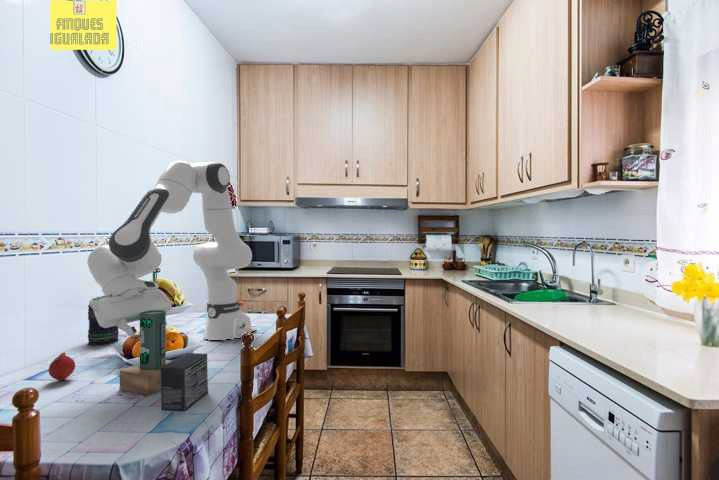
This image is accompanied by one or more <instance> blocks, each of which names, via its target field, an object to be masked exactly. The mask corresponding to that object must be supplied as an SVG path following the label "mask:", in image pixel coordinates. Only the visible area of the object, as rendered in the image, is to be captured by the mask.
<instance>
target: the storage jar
mask: <svg viewBox="0 0 719 480" xmlns="http://www.w3.org/2000/svg"><path fill="white" fill-rule="evenodd" d="M87 306H88V309H87V310H88V311H87V316H88V317H87V318H88V331H87V333H88V334H87V338H88V339H87V340H88V342H87V345H88V346H90V347H91V346H92V347H97V346H98V347H99V346H101V347H102V346H106V345H112V344H115V343H117V342H119V333H120V332H119V331H120V330H119V328H118V327H117V326H112V327H108V328H104V327H101V326H100V325H99V323H98V321H97V319H96V317H95V314H94V310H93V309H92V308H91V306H90V304H88V305H87ZM116 341H117V342H116ZM114 342H115V343H114ZM111 343H112V344H111Z"/></svg>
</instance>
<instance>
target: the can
mask: <svg viewBox="0 0 719 480" xmlns="http://www.w3.org/2000/svg"><path fill="white" fill-rule="evenodd" d="M166 315H167V314H166V311H164V310H150V311H145V312H141V313H140V320H139V364H140V369H141V370H154V369H159V368H161V367H162V366H164V365H165V364H166V360H167V359H166V358H167V354H166V353H167V350H166V349H167V347H166V346H167V339H166V336H167V335H166V334H167V331H166V330H167V329H166V328H167V325H166V322H167V319H166V318H167V316H166Z"/></svg>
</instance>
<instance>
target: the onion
mask: <svg viewBox="0 0 719 480" xmlns="http://www.w3.org/2000/svg"><path fill="white" fill-rule="evenodd" d="M53 359H54V360H52V361H51V363H50V364H49V367H48V375H50V377H51V378H52V379H54V380H57V381H60V382H63V381H65V380H66V379H68V377H70V376H71V375H72V374H73V373H74V371H75V369H76V362H75V361H74V359H73V358H72V357H71V356H68V355H66V352H64V351H63V352H61V353H60V354H59V355H58V356H57V357H55V358H53Z"/></svg>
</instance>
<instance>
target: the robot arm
mask: <svg viewBox="0 0 719 480" xmlns="http://www.w3.org/2000/svg"><path fill="white" fill-rule="evenodd" d="M230 177H231V175H230V171H229V170H228V168H227V167H226V166H225V164H223V163H221V162H217V161H212V162H195V163H188V162H186V161H182V160H176V161H173V162H171V163H170V164H169V165H168V166H167V167H166V168H165V169H164V171H163V172H162V174H161V175H160V176H159V178H158V180H157V181H156V183H155V185H154V187H153V188H151V189H149V190H148V191H147V192H146V193H145V195H144V196H143V197H142V198H141V200H140V201H139V202H138V204H137V205H136V207H135V208H134V210H133V211H132V213H131V214H130V215H129V217H128V218H127V220H126V221H124V223H122V224H121V225H120V226H119V227H118V228H117V229H115V230H114V231H113V233H112V234H111V236H110V238H109V240H108V245H101V246H99V247H97V248H95V249H94V250H92V251H91V252H90V254H89V255H88V257H87V267H88V270H89V272H90V274H91V275H92V277H93V279H94V281H95V282H96V283H97V284H98V285H99V286H100V287H101V290H102V293H103V295H101V296H94V297H92V299H90V300H89V304H90V306H91V308H92V309H93V310H94V314H95V317H96V319H97V321H98V323H99V325H100V326H101V327H104V328H108V327H112V326H117V327H118V330H121V331H123V332H125V333H126V335H127V336H128V337H131V336H135V335H136V334H137V332H138V331H137V329H136V327H135V326H130V325H129V323H133V322H140V313H141V312H145V311H150V310H164V311H166V315H167V314H168V313H169V312H170V311H171V310H172V306H173V304H172V302H171V300H170V298H168V296H167V295H166V293H165V292H164V291H162V289H159V288H160V287H159V284H158V283H157V282H155V281H150V280H144V279H140V278H142V277H144V276H146V275H148V274H152V273H153V272H155V271H156V270H157V269H158V268H159V266H160V265H161V263H162V255H161V253H160V251H159V250H158V248H157V246H156V245H155V244H154V242H153V241H152V238H151V229H152V227H153V225H154V224H155V222H156V221H157V219H158V217H159V216H160V214H161V213H166V214H176V213H180V212H182V211H183V210H184V209H185V208H186V206H187V205H188V203H189V201H190V198H191V197H192V194H201V195H202V196H201V202H202V203H201V205H202V214H203V215H202V217H203V222H204V224H203V225H204V229H205V230H206V231H207V232H208V233H210V234H211V235H212V236H213V238H214V239H215V241H210V242H204V243H200V244H198V245H197V246H195V248H194V250H193V252H192V253H193V255H192V256H193V261H194V263H195V264H196V265H197V266H198V267H199V268H200V269H201V271H202V273H203V275H204V277H205V279H206V284H207V303H206V304H207V305H206V314H207V316H206V322H205V331H204V332H203V339H204V338H205V339H204V340H206V339H208V340H207V341H210V340H223V341H227V340H226V339H231V340H234V339H233V338H240V337H241V335H242V334H243V333H244V332H252V331H254V330H256V329H257V328H256V327H254V326H252V321H251V320H252V319H251V317H249V315H247V314H246V313H245V312H243V311H242V310H241V308H240V307H244V304H245V302H244V301H243V300H242V301H238V300H237V299H238V298H237V297H238V296H237V295H238V291H237V290H238V289H237V283H236V281H235V279H233V278H232V277H230V275H229V273H228V270H238V269H243V268H247V267H248V266H249V265H250V264H251V262H252V260H253V253H252V249H251V248H250V246H249V245H248V244H246V243H245V242H244V241H243V240H242V238H241V237H240V235H239V234H238V232H237V229H236V227H235V222H234V221H235V220H234V216H233V206H232V200H231V195H230V192H229V189H228V186H229V184H230V179H231V178H230ZM89 304H88V305H89ZM167 325H168V323H167V321H166V326H167ZM251 327H253V328H251ZM256 331H257V330H256ZM204 334H205V335H204Z"/></svg>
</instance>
